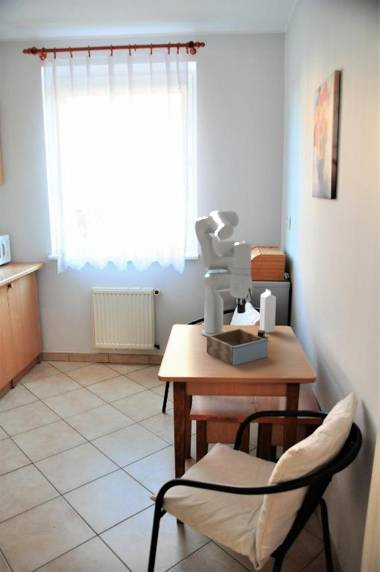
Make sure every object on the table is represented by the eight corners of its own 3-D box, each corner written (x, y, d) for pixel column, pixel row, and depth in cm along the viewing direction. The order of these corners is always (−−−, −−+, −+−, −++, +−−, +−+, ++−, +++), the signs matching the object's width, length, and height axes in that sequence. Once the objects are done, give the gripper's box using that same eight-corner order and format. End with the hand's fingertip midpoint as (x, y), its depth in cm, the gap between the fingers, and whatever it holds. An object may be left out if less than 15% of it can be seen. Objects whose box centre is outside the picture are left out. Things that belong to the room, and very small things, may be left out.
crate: (206, 352, 210) (206, 335, 208) (238, 344, 220) (239, 328, 219) (231, 365, 195) (232, 347, 194) (264, 356, 206) (265, 339, 204)
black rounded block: (266, 344, 222) (266, 335, 221) (251, 343, 225) (251, 334, 224) (270, 337, 234) (270, 328, 233) (255, 335, 236) (256, 327, 235)
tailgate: (232, 364, 195) (232, 346, 194) (264, 355, 205) (265, 338, 204) (234, 365, 194) (234, 347, 193) (267, 356, 204) (267, 339, 203)
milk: (264, 333, 239) (265, 291, 234) (259, 329, 244) (260, 288, 240) (274, 332, 240) (276, 290, 235) (269, 328, 246) (271, 288, 241)
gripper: (224, 269, 201) (223, 310, 205) (246, 274, 189) (245, 317, 193) (237, 268, 205) (236, 308, 209) (260, 272, 193) (259, 315, 197)
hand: (241, 312), depth 201 cm, fingers closed
